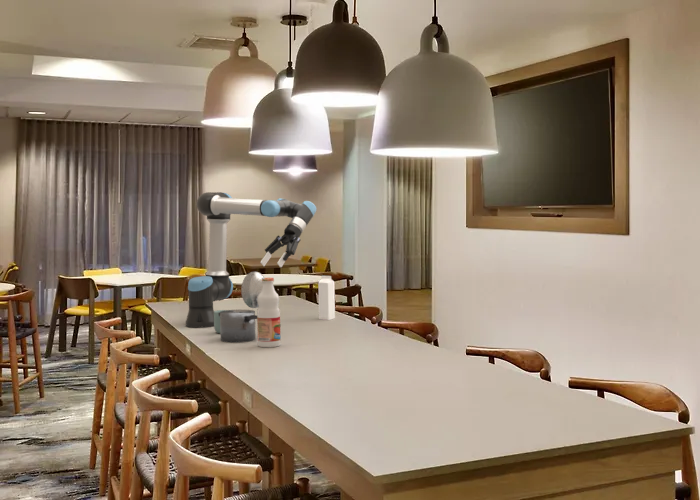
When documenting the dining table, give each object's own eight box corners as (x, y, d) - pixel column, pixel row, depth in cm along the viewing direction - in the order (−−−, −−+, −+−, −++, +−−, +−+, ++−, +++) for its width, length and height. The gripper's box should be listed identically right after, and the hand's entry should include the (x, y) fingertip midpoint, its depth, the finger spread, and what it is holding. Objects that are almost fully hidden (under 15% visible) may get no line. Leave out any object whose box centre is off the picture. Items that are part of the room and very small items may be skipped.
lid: (240, 306, 343) (246, 306, 346) (264, 309, 333) (270, 309, 335) (242, 271, 343) (247, 271, 346) (266, 272, 333) (271, 272, 335)
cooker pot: (236, 334, 345) (235, 308, 344) (266, 339, 331) (266, 311, 331) (209, 339, 333) (208, 311, 333) (240, 344, 320) (239, 315, 319)
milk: (325, 317, 393) (324, 275, 392) (335, 318, 390) (334, 275, 389) (318, 319, 388) (318, 276, 387) (328, 320, 385) (328, 276, 384)
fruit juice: (257, 344, 320) (256, 277, 319) (280, 343, 322) (278, 276, 320) (257, 348, 311) (256, 279, 309) (281, 347, 312) (279, 278, 311)
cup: (227, 334, 346) (227, 312, 345) (211, 334, 347) (211, 312, 347) (233, 331, 353) (233, 310, 353) (217, 331, 355) (217, 309, 354)
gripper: (316, 234, 351) (292, 271, 340) (282, 234, 366) (258, 269, 355) (308, 223, 346) (283, 260, 336) (273, 223, 362) (249, 258, 351)
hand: (270, 264), depth 345 cm, fingers open, 10 cm apart
